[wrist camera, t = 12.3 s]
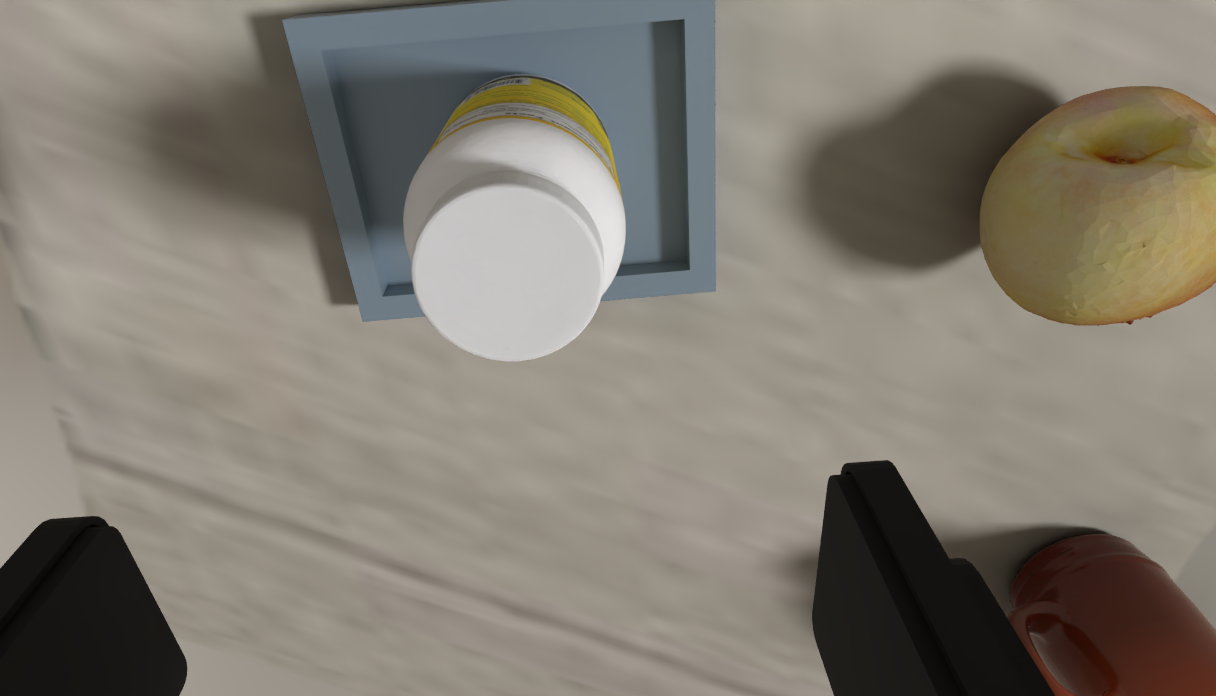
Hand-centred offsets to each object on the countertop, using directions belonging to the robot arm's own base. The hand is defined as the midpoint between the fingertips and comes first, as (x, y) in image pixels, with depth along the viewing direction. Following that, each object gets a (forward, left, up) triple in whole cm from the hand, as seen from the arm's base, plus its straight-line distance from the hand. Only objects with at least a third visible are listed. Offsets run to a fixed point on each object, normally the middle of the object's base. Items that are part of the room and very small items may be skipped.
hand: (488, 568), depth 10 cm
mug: (+25, +24, -21) cm, 40 cm away
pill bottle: (0, 0, -20) cm, 20 cm away
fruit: (+3, +19, -21) cm, 29 cm away
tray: (0, -1, -21) cm, 21 cm away
